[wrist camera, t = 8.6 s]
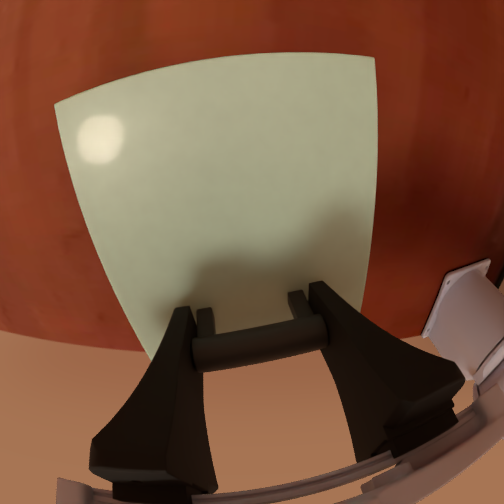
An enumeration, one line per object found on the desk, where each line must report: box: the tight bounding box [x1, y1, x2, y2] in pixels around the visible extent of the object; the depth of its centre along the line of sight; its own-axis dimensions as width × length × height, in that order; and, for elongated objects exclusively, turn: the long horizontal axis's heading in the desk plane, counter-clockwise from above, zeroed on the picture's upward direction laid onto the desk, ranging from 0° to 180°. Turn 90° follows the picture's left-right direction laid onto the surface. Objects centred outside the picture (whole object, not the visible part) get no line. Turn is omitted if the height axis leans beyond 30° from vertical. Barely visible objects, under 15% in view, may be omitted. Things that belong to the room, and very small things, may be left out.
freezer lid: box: [54, 52, 378, 373], centre depth 10 cm, size 13×11×4 cm
